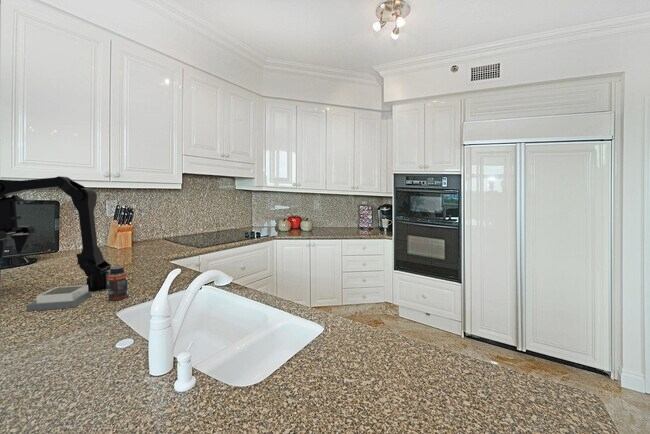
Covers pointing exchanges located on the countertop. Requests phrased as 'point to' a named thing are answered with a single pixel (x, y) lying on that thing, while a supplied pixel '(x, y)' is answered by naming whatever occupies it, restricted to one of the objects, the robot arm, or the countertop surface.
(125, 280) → the supplement bottle
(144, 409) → the countertop surface
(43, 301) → the plate
